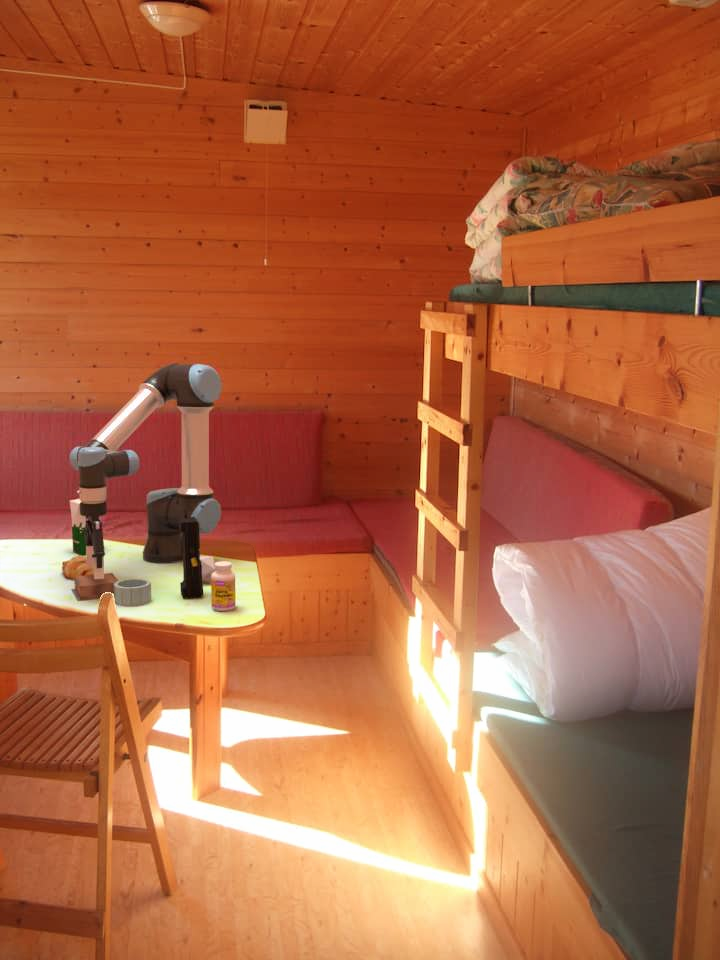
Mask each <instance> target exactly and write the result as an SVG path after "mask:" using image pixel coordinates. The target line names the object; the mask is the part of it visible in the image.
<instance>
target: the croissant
mask: <svg viewBox="0 0 720 960" xmlns="http://www.w3.org/2000/svg"><path fill="white" fill-rule="evenodd" d="M61 566H62V567H61V569H62V570H61V571H62V573H63V575H64V576H65V577H66V578H68V579H70V580H74V581H75V579H74V577H76V576H86V575H94V568H87V563H86V555H80V554H78V555H76V556H73V557H72V558H70V559H68V560H66V561H63V562H62V565H61Z"/></svg>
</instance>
